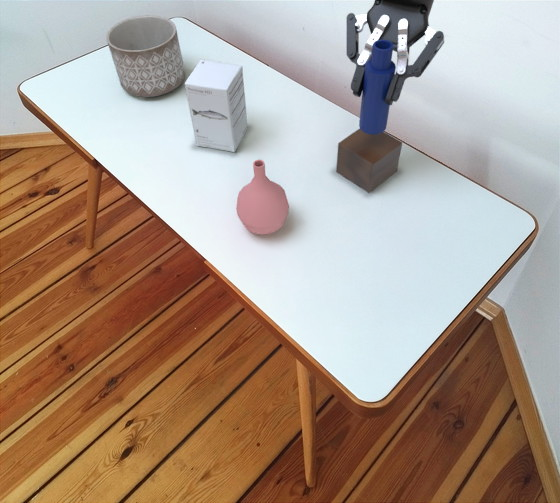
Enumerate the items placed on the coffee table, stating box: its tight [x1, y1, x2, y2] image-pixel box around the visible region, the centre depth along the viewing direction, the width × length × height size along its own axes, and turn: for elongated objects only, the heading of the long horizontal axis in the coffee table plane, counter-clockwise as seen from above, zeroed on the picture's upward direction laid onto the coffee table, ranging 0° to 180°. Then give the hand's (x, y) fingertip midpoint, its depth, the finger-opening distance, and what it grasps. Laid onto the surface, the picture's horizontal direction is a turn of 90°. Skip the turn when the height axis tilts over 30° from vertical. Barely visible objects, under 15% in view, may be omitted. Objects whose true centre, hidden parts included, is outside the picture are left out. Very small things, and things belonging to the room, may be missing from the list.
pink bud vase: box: [235, 159, 290, 235], centre depth 73 cm, size 8×8×12 cm
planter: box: [105, 14, 186, 98], centre depth 98 cm, size 13×13×10 cm
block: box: [335, 127, 403, 194], centre depth 82 cm, size 7×7×6 cm
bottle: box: [358, 40, 397, 135], centre depth 72 cm, size 4×4×13 cm
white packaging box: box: [184, 59, 248, 153], centre depth 86 cm, size 7×7×13 cm
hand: (372, 99), depth 71 cm, fingers closed on bottle, 4 cm apart
